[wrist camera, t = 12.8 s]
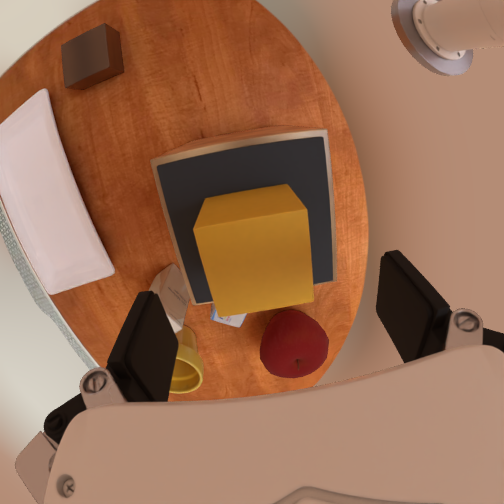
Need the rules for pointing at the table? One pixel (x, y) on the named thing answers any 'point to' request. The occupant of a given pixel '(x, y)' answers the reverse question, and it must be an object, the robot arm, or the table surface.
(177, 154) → the block
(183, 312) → the box
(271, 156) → the mat
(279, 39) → the table surface
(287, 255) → the top block
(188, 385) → the flower pot
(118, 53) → the base block
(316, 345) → the apple
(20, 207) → the tray
